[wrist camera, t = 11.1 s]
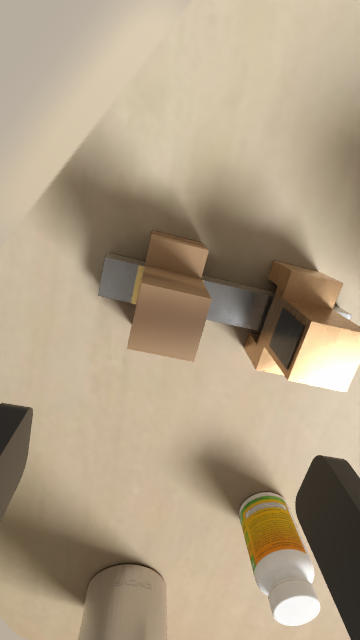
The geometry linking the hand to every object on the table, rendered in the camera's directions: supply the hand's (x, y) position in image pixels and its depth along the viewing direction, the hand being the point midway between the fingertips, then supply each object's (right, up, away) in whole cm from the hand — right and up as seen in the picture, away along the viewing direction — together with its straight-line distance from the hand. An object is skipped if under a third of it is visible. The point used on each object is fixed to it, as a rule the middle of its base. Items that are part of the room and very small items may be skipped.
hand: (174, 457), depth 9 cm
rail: (+4, +6, +19) cm, 20 cm away
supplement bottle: (+9, -17, +28) cm, 34 cm away
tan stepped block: (-1, +7, +18) cm, 20 cm away
